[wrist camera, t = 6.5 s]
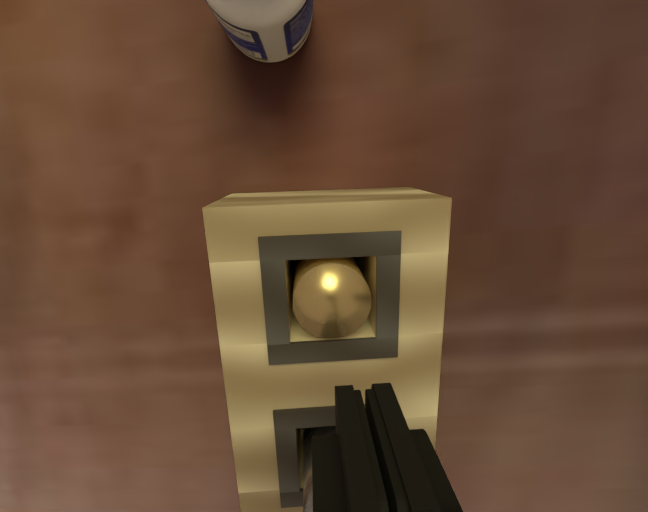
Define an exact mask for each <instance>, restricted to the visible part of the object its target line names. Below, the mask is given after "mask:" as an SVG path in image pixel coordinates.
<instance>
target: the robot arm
mask: <svg viewBox="0 0 648 512" xmlns="http://www.w3.org/2000/svg"><path fill="white" fill-rule="evenodd" d="M335 421H336V434H332V435H317V436H312V489H313V512H463V511H462V508H461V506H460V504H459V502H458V500H457V498H456V495H455V493H454V491H453V489H452V487H451V484H450V482H449V480H448V478H447V476H446V473H445V471H444V469H443V467H442V465H441V463H440V460H439V458H438V456H437V454H436V452H435V449H434V447H433V445H432V443H431V441H430V439H429V436H428V434H427V433H426V431H425V430H424V429H410V430H409V428H408V425H407V423H406V420H405V418H404V415H403V413H402V410H401V407H400V405H399V402H398V400H397V397H396V395H395V392H394V390H393V387H392V385H391V383H376V384H372V386H371V389H366V390H365V407H364V402H363V398H362V394H361V390H354V388H353V385H342V386H335Z"/></svg>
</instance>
